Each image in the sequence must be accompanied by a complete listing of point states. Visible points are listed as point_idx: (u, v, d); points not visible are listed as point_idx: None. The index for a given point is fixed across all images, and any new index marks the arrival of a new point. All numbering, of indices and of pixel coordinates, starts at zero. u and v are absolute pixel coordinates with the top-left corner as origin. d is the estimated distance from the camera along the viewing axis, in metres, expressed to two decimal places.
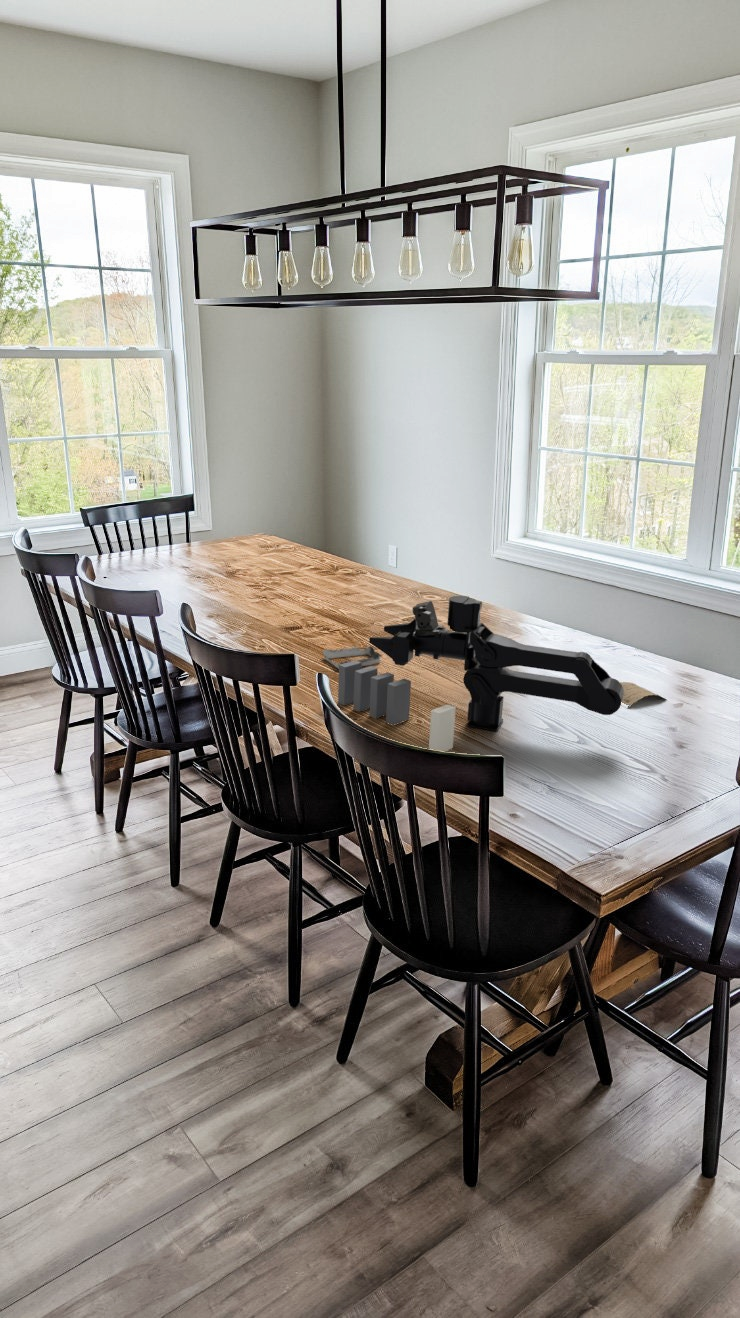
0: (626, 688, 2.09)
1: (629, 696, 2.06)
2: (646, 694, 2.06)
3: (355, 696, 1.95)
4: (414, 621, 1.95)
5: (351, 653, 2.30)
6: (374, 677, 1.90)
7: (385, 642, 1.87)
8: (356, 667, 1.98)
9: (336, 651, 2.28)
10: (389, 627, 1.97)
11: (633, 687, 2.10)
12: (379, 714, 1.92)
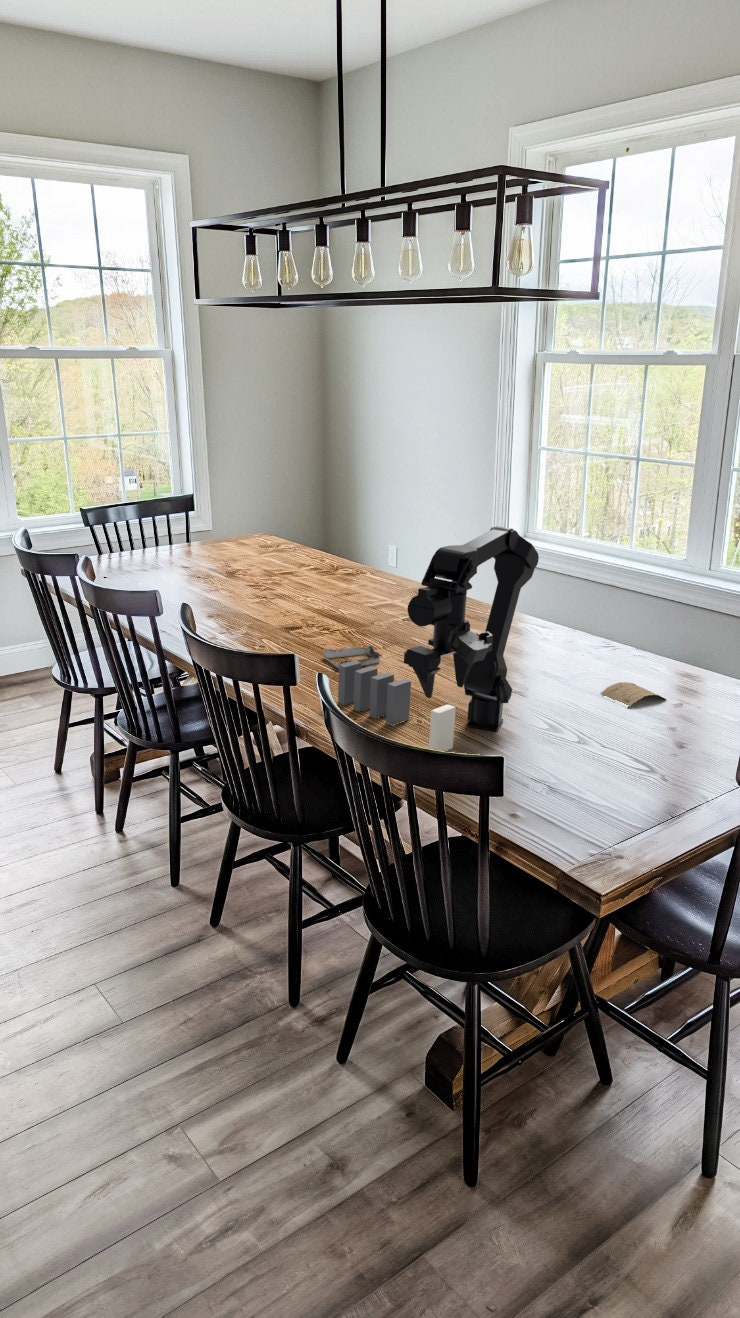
0: (626, 688, 2.09)
1: (629, 696, 2.06)
2: (646, 694, 2.06)
3: (355, 696, 1.95)
4: None
5: (351, 653, 2.30)
6: (374, 677, 1.90)
7: None
8: (356, 667, 1.98)
9: (335, 651, 2.28)
10: None
11: (633, 687, 2.10)
12: (379, 714, 1.92)
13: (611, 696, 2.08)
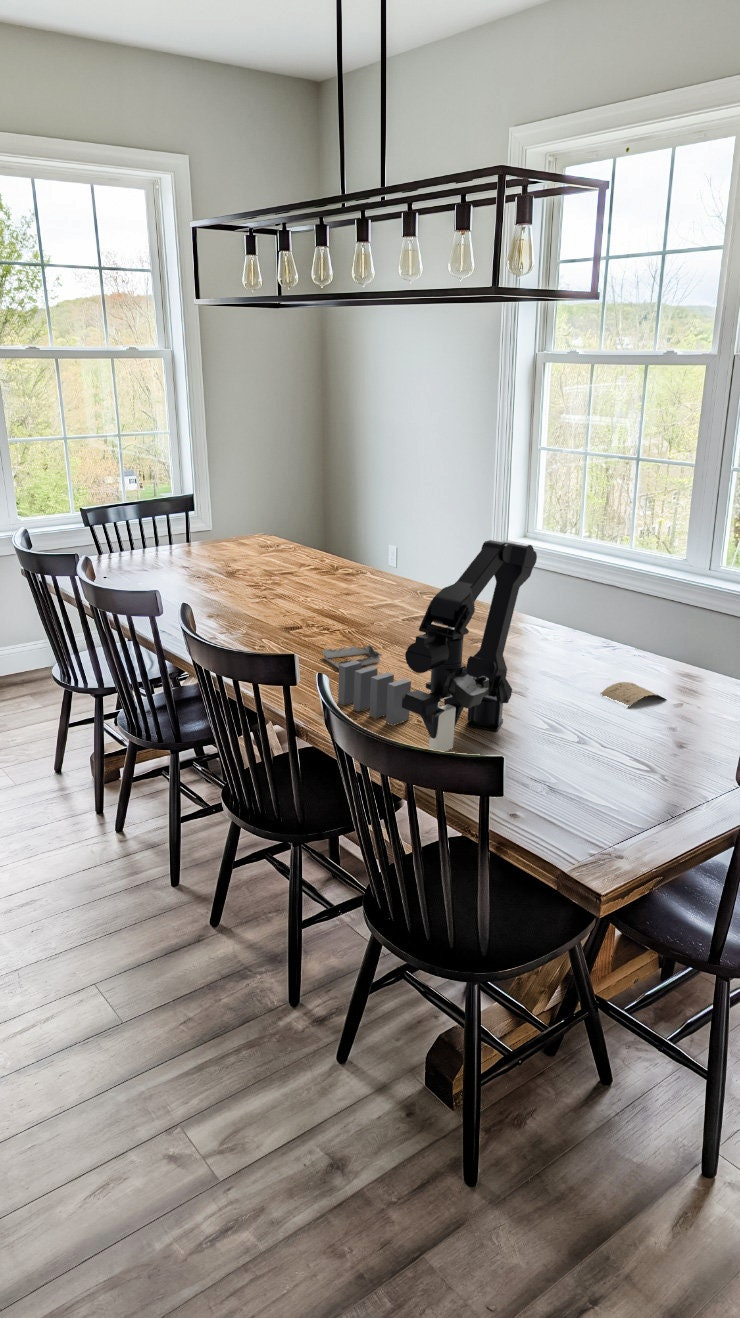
0: (626, 688, 2.09)
1: (629, 696, 2.06)
2: (646, 694, 2.06)
3: (355, 696, 1.95)
4: None
5: (351, 652, 2.30)
6: (374, 677, 1.90)
7: None
8: (356, 667, 1.98)
9: (335, 651, 2.28)
10: None
11: (633, 687, 2.10)
12: (379, 714, 1.92)
13: (611, 696, 2.08)
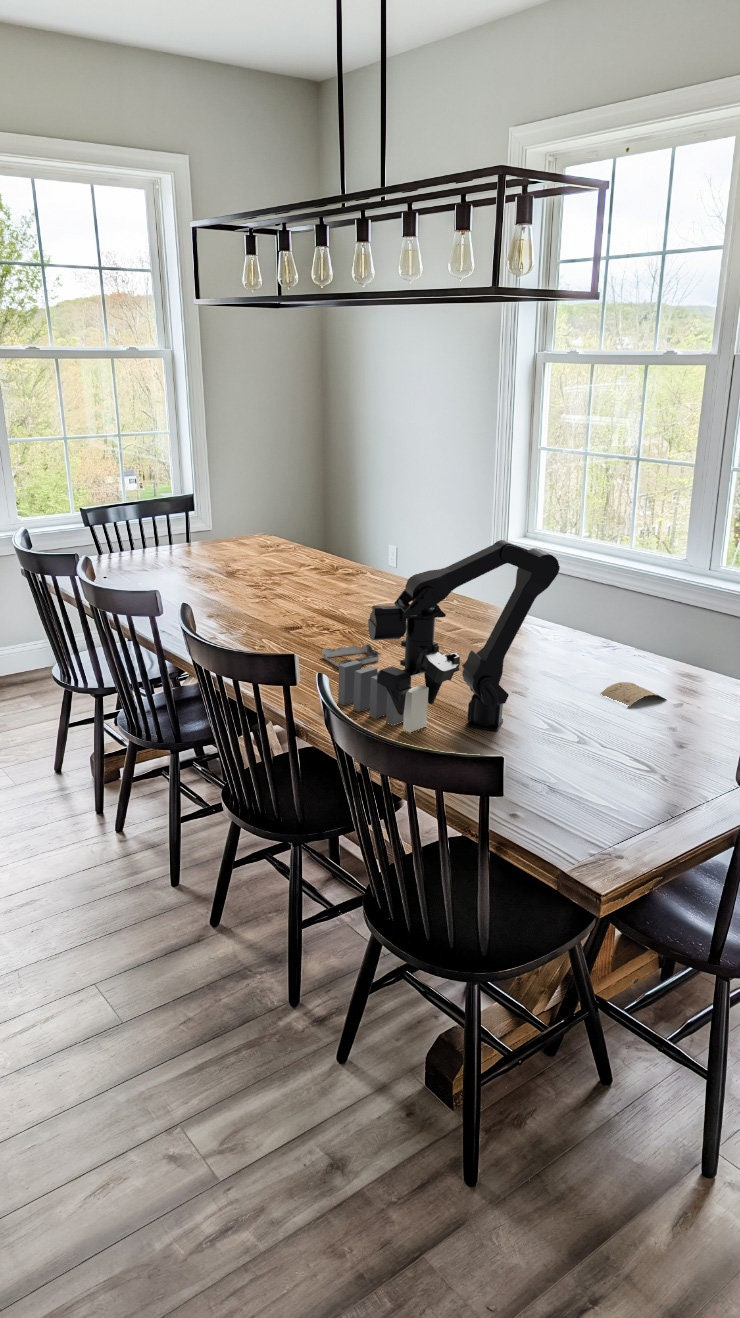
0: (626, 688, 2.09)
1: (629, 696, 2.06)
2: (646, 694, 2.06)
3: (355, 696, 1.95)
4: None
5: (349, 652, 2.31)
6: (374, 677, 1.90)
7: None
8: (356, 667, 1.98)
9: (334, 650, 2.29)
10: None
11: (633, 687, 2.10)
12: (379, 714, 1.92)
13: (611, 696, 2.08)
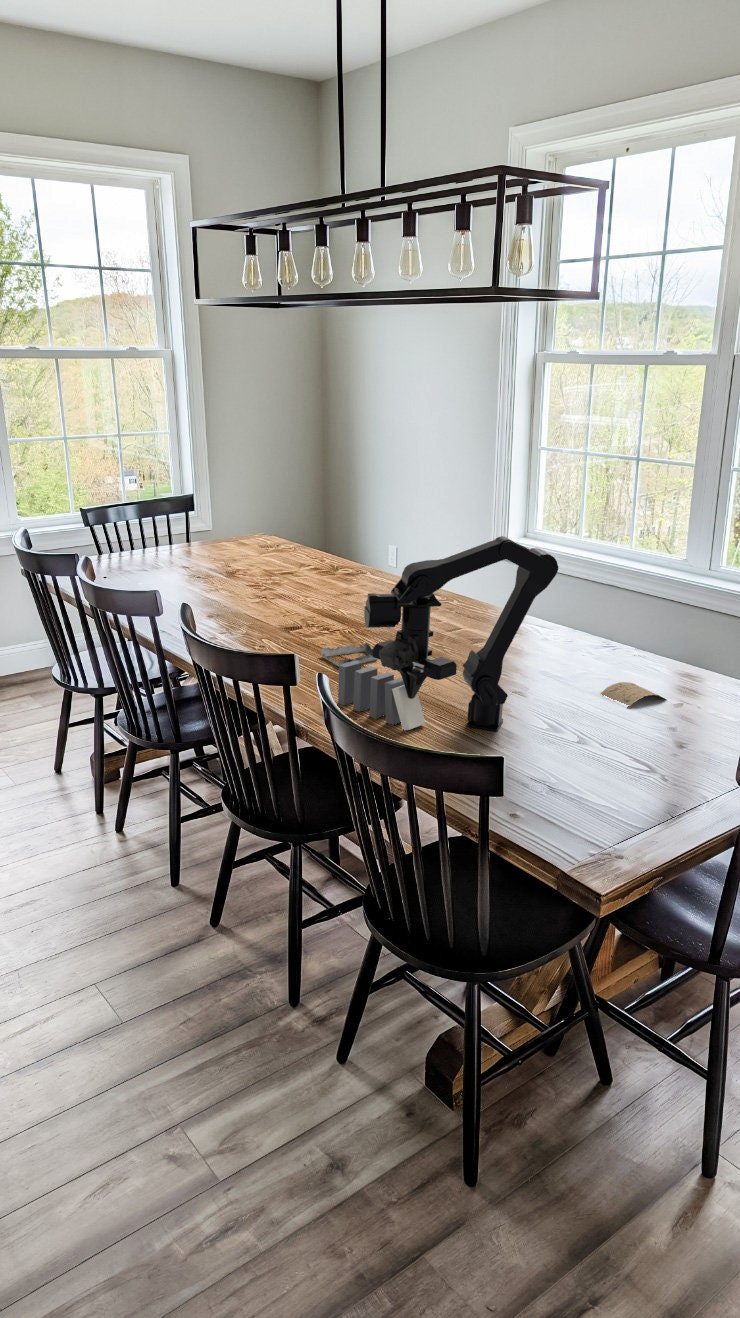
0: (626, 688, 2.09)
1: (629, 696, 2.06)
2: (646, 694, 2.06)
3: (355, 696, 1.95)
4: (402, 669, 1.82)
5: (348, 651, 2.32)
6: (374, 677, 1.90)
7: (416, 682, 1.83)
8: (356, 667, 1.98)
9: (333, 649, 2.29)
10: None
11: (633, 687, 2.10)
12: (379, 714, 1.92)
13: (611, 696, 2.08)
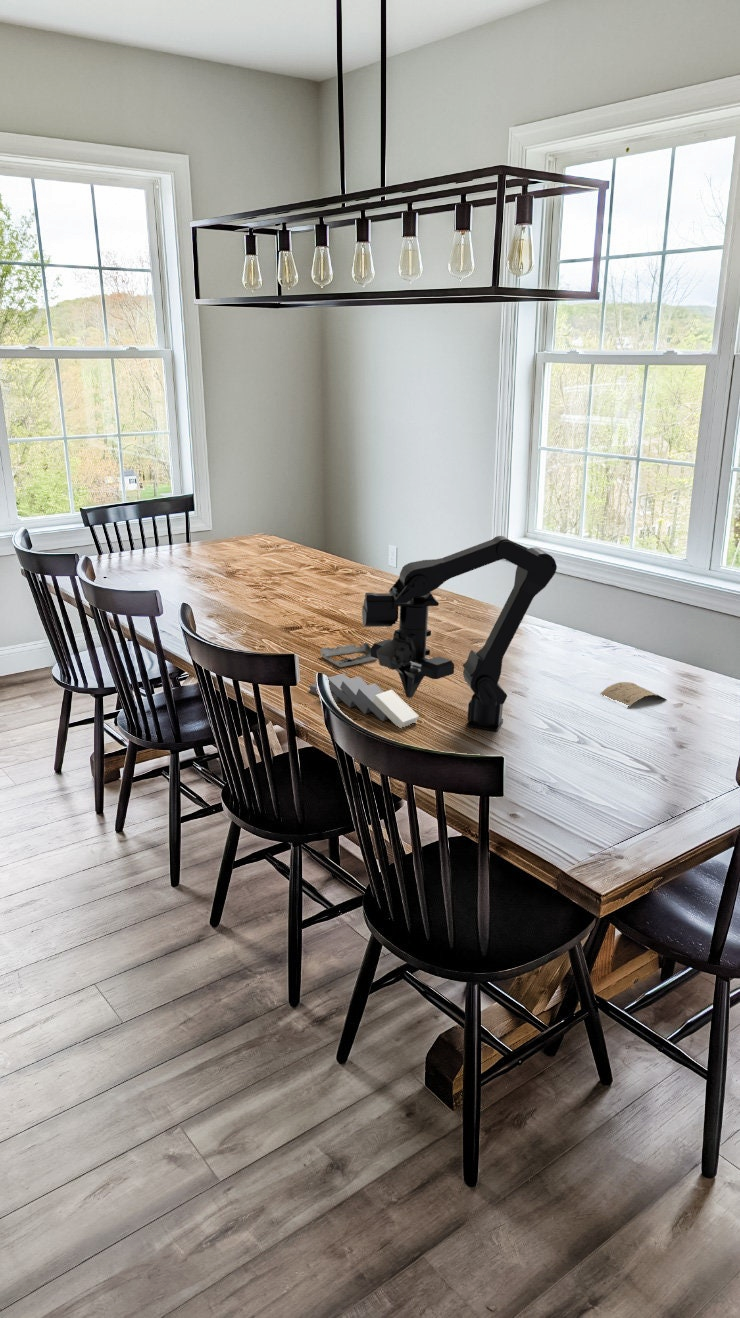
0: (626, 688, 2.09)
1: (629, 696, 2.06)
2: (646, 694, 2.06)
3: (341, 697, 1.98)
4: (400, 668, 1.83)
5: (348, 650, 2.32)
6: None
7: (414, 681, 1.84)
8: None
9: (332, 649, 2.29)
10: None
11: (633, 687, 2.10)
12: None
13: (611, 696, 2.08)
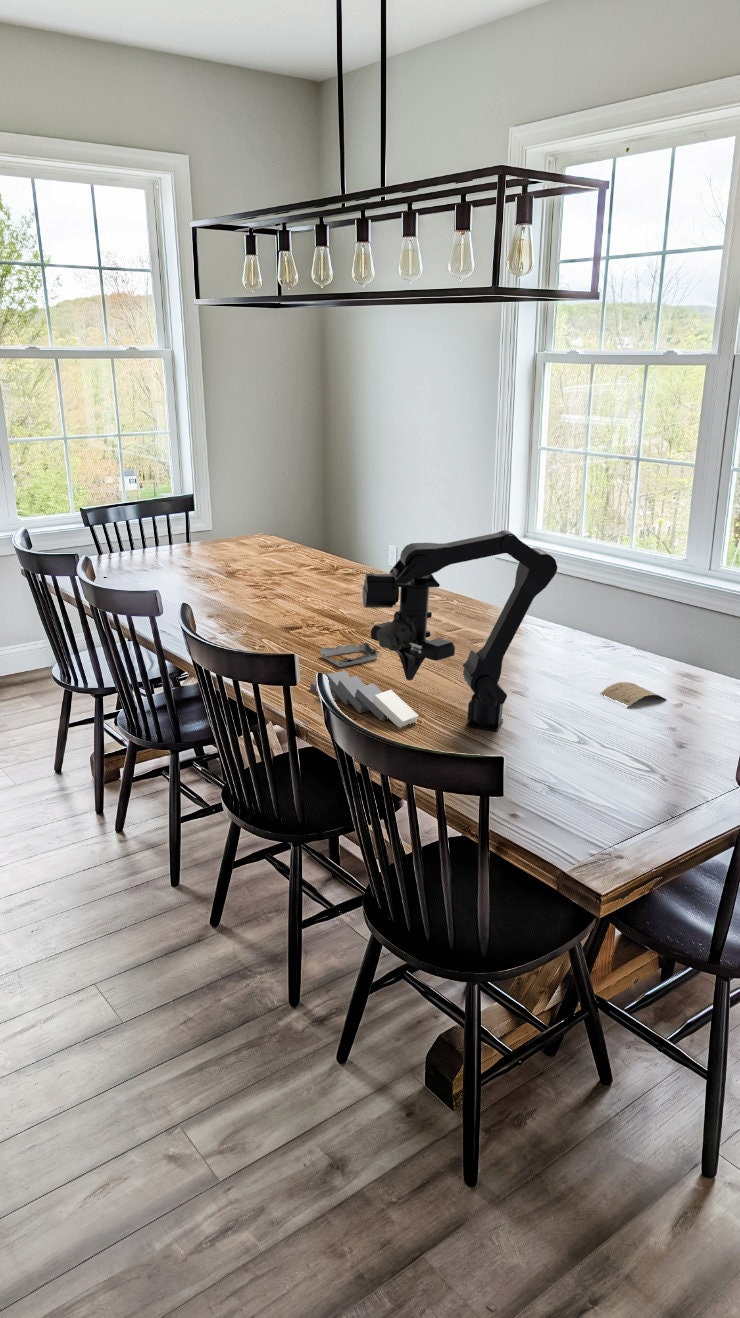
0: (626, 688, 2.09)
1: (629, 696, 2.06)
2: (646, 694, 2.06)
3: (338, 694, 1.99)
4: (400, 650, 1.82)
5: (347, 650, 2.32)
6: None
7: (414, 663, 1.82)
8: None
9: (332, 649, 2.30)
10: None
11: (633, 687, 2.10)
12: None
13: (611, 696, 2.08)
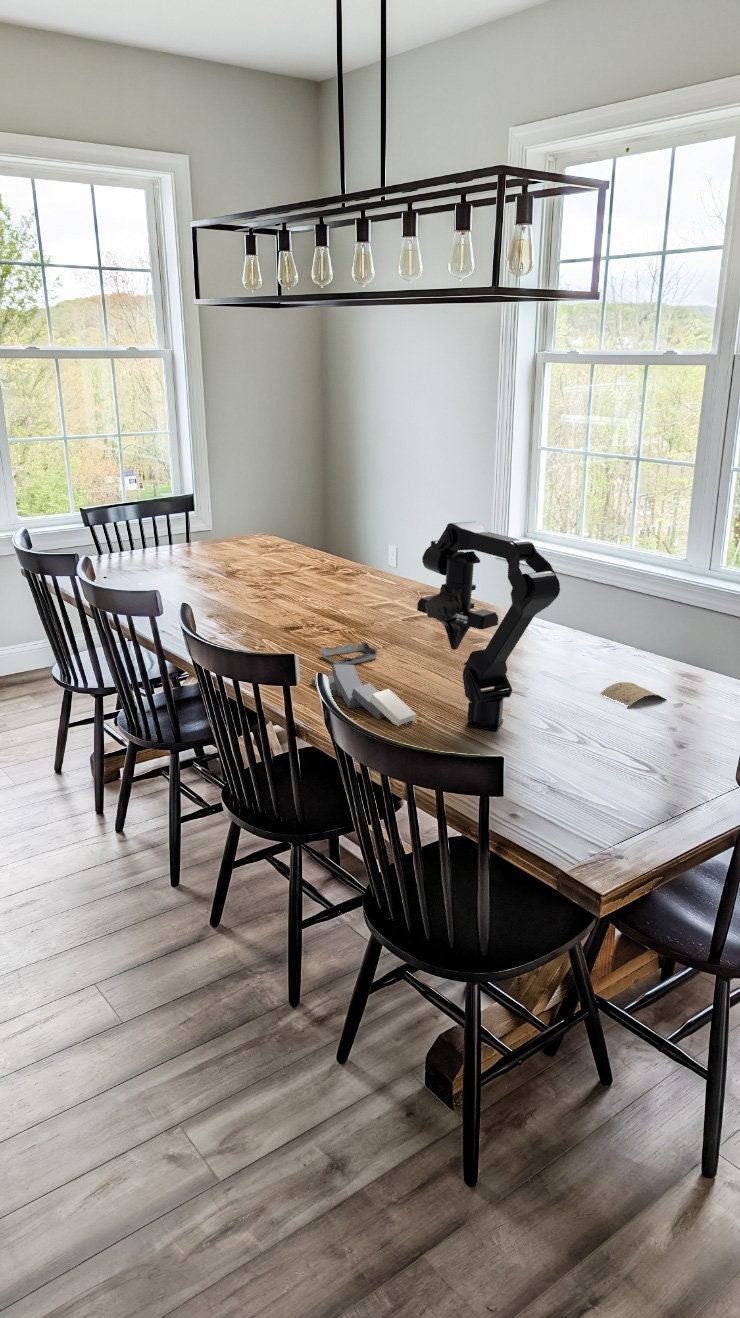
0: (626, 688, 2.09)
1: (629, 696, 2.06)
2: (646, 694, 2.06)
3: (336, 685, 2.04)
4: (446, 620, 1.94)
5: (346, 650, 2.32)
6: None
7: (459, 633, 1.94)
8: None
9: (331, 648, 2.30)
10: None
11: (633, 687, 2.10)
12: (353, 698, 1.96)
13: (611, 696, 2.08)
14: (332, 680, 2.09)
